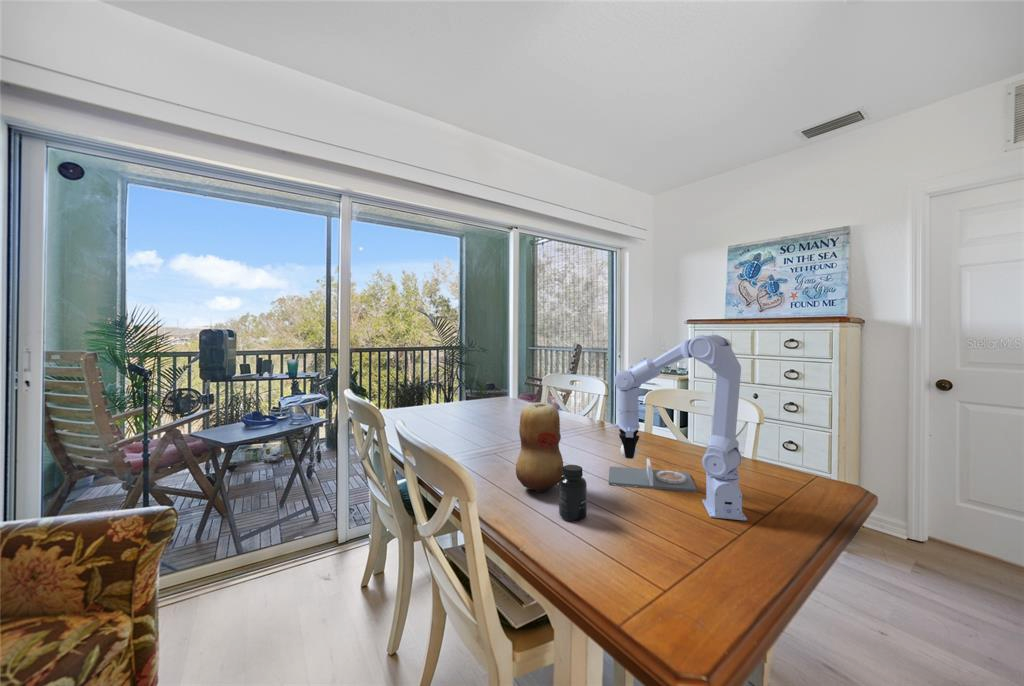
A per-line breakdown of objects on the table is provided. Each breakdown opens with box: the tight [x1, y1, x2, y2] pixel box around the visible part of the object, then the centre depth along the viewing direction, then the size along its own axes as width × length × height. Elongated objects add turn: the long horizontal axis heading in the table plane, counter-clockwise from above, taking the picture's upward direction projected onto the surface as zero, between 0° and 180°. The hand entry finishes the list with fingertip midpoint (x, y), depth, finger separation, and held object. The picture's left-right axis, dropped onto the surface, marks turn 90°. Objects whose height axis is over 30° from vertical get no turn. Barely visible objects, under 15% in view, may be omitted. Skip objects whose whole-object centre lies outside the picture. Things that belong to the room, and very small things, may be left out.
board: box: [608, 458, 698, 493], centre depth 117 cm, size 14×24×4 cm, turn 74°
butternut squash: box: [515, 401, 564, 492], centre depth 111 cm, size 14×13×25 cm
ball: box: [620, 444, 639, 460], centre depth 116 cm, size 5×5×5 cm
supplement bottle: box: [558, 464, 588, 523], centre depth 94 cm, size 7×7×12 cm
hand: (629, 455), depth 116 cm, fingers closed on ball, 5 cm apart
